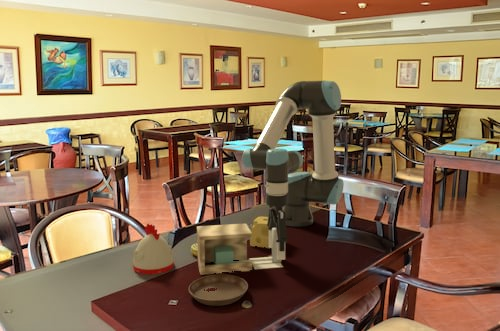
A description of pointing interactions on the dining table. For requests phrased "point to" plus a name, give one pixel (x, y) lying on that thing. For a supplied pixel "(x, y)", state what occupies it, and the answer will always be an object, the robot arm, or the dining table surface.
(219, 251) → the block
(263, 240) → the cheese
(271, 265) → the mat
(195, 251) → the decorated donut
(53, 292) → the dining table surface
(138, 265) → the kitchen timer
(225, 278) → the plant saucer
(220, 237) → the box
